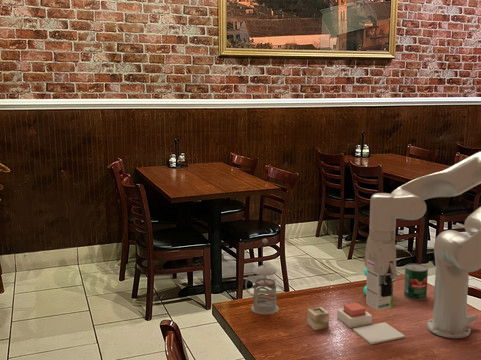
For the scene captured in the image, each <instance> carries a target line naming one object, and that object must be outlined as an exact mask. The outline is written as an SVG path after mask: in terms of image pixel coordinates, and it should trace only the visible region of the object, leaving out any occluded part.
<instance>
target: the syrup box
mask: <svg viewBox="0 0 481 360" xmlns="http://www.w3.org/2000/svg"><path fill="white" fill-rule="evenodd" d="M373 264H374V262H373V261H372V262H371V261H370V260H367V267H366V268H367V277H366V285H367V286H366V285H365V286H366V294H365V296H366V297H365V301H366V302H365V304H366V305H367V306H369V307H370V308H372V309H374V310H376V311H380V310H384V309H390V308H393V300H394V299H393V298H394V294H393V293H394V283H393V284H392V289H391V296H387V297H382V296H381V287H382V284H383V279H382V276H381V275H379V274H377V273H376V272H374V268H373ZM374 265H375V264H374ZM387 273H389V271H388V272H387ZM388 278H389V277H388V275H387V276H386V279H388Z"/></svg>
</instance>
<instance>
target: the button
mask: <svg viewBox="0 0 481 360" xmlns="http://www.w3.org/2000/svg"><path fill="white" fill-rule="evenodd" d="M343 308H344V312H345V313H346V314H348V315H349V316H350V317H356V316H362V315H365V311H366V312H367V310H366V307H364V306H363V305H361V304H360V303H358V302H353V303H347V304H343Z"/></svg>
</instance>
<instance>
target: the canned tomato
mask: <svg viewBox="0 0 481 360" xmlns="http://www.w3.org/2000/svg"><path fill="white" fill-rule="evenodd" d="M428 272H429V268H428V266H427V265H424V264H419V263H408V264H405V266H404V282H403V283H404V285H403V286H404V288H403V289H404V290H403V297H405V298H406V299H409V300H413V301H414V300H415V301H422V300H426V299H427V293H428V276H429V275H428Z"/></svg>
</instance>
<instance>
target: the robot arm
mask: <svg viewBox="0 0 481 360" xmlns="http://www.w3.org/2000/svg"><path fill="white" fill-rule="evenodd" d="M478 185H481V150H479V151H478V152H475V153H474V154H472V155H470V156H468V157H466V158H464V159H463V160H460V161H458V162H457V163H455V164H453V165H451V166H449V167H448V168H446V169H443V170H441V171H436V172H433V173H430V174H427V175H424V176H420V177H417V178H415V179H413V180H410V181H408V182H406V183H404V184H402V185H401V186H398V187H397V188H396V189H394V190H392V191H391V193H387V192H377V193H374V194H372V195H371V196H370V202H369V204H370V205H369V226H368V227H369V228H368V229H369V231H368V232H369V233H368V237H367V239H366V245H365V252H364V267H365V268H367V260H370V261H371V262H372V261H373V262H374V264H375V265H374V264H373V268H374V272H376V273H377V274H379V275H381V276H382V279H383V284H382V287H381V296H382V297H387V296H391V289H392V284H393V285H394V282H395V281H396V280H397V279H398V278H399V275H398V272H397V270H396V269H397V248H396V247H397V246H396V229H397V228H396V227H397V226H396V225H397V220H405V221H406V220H407V221H416V220H419V219H421V218H423V217H424V215H425V214H426V212H427V204H426V202H425V200H428V199H433V198H451V197H457V196H460V195H462V194H463V193H465V192H467V191H470V190H471V189H473V188H474V187H476V186H478ZM464 230H465V232H466V234H468V235H469V236H470V237H469V236H468V235H466V234H465V233H463V232H460V231H458V230H453V229H448V230H444V231H442V232H440V233H439V234H438V235H437V236H436V237H435V239H434V243H433V252H434V253H433V254H434V263H435V276H434V291H433V292H434V293H433V309H432V318H430V319H429V320H428V321H427V323H426V324H427V325H426V327H427V329H428V331H430V332H431V333H433V334H434V335H437V336H440V337H443V338H448V339H463V338H466V337H468V336H470V334H471V327H470V326H469V324H471V323H472V322H477V321H478V316H477V315H476V314H471V315H468V313H467V307H468V305H467V303H468V290H469V278H470V276H469V274H470V273H474V272H477V271H479V270H481V206H479V207H478V208H477V209H475V210H474V211H473V212H472V213H470V214H469V215H468V216H467V218H465V221H464ZM388 271H389V273H387V272H388ZM387 275H388V277H389V278H388V279H386V276H387ZM470 322H471V323H470Z"/></svg>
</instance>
